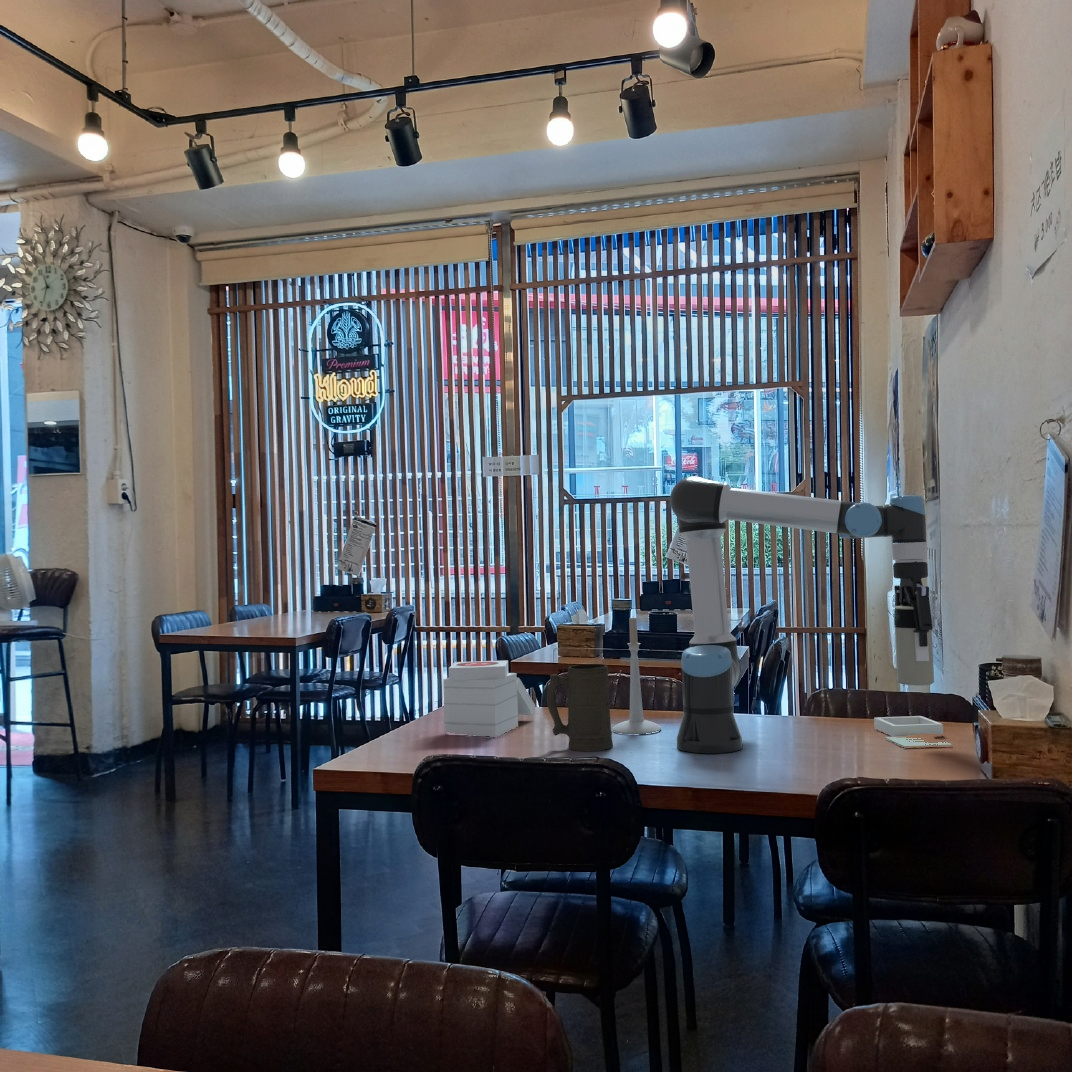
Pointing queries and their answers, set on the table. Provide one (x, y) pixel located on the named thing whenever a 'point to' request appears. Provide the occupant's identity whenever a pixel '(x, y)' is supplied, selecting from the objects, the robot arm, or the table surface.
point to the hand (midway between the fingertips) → (914, 658)
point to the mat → (906, 743)
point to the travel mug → (911, 651)
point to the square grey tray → (907, 725)
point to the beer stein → (583, 707)
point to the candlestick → (635, 693)
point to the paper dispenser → (484, 698)
